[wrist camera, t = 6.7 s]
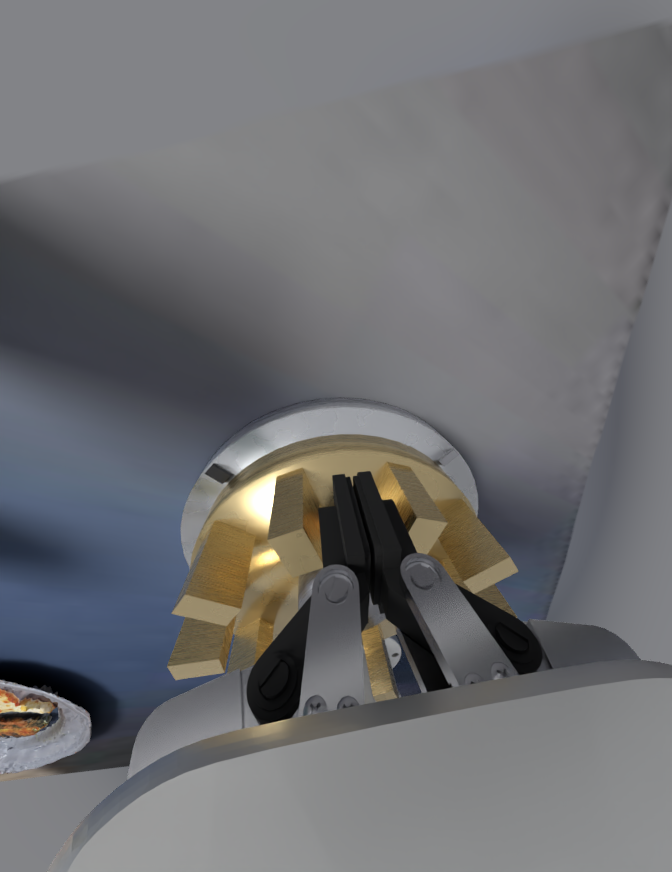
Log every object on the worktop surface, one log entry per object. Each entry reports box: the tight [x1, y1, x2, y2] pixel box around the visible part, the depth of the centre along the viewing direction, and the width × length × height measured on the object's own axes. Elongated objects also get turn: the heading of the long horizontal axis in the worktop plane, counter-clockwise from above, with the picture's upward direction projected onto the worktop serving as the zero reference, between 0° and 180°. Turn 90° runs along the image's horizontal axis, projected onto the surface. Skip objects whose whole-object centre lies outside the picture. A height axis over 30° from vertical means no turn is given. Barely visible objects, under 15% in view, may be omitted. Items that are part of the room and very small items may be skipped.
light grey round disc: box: [181, 398, 478, 567], centre depth 20 cm, size 22×22×2 cm
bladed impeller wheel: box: [167, 434, 518, 702], centre depth 17 cm, size 19×19×6 cm
